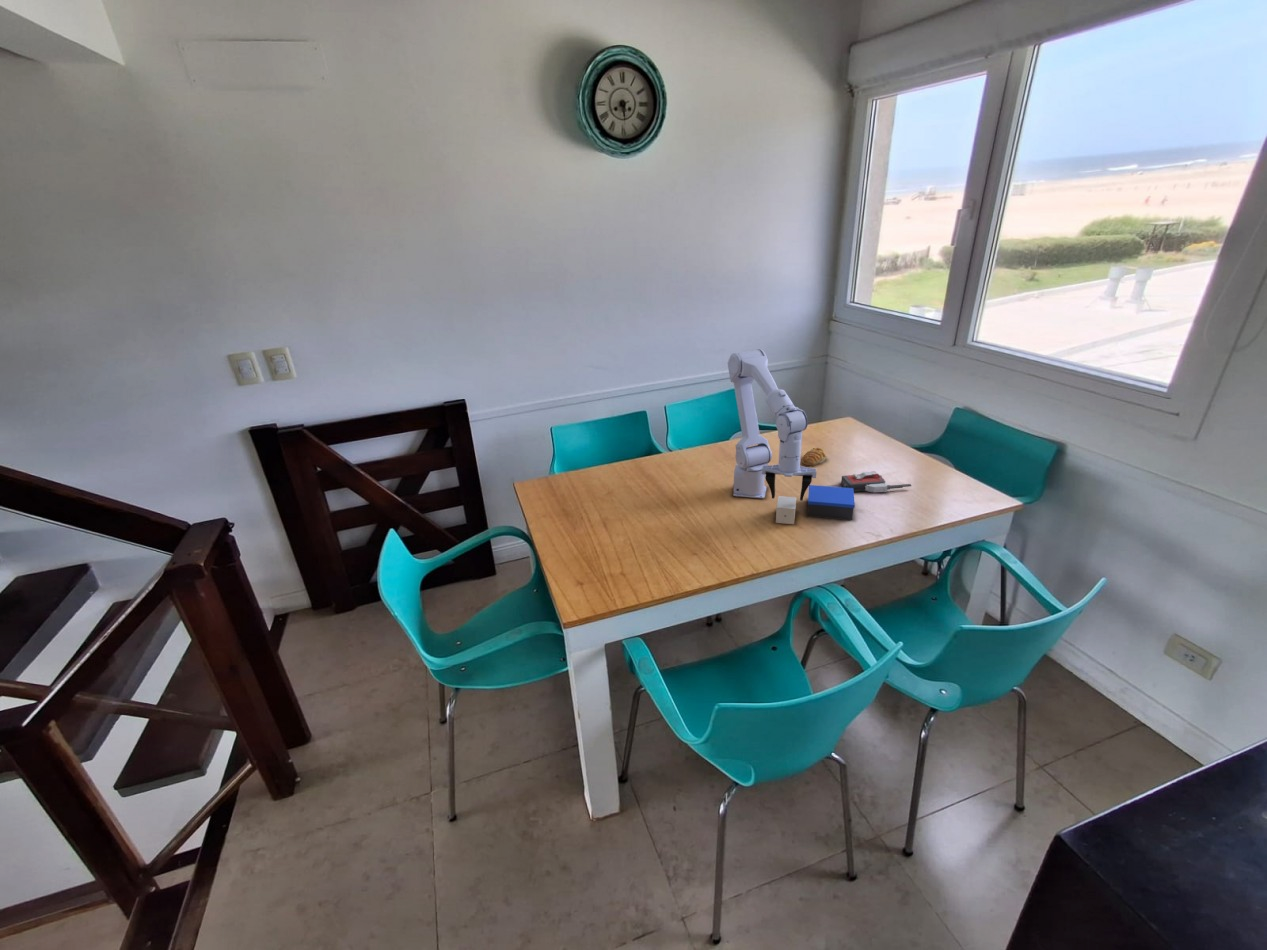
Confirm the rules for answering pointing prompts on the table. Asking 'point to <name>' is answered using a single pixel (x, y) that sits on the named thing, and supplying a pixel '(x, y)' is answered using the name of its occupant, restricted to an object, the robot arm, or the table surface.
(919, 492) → the table surface
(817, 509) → the container
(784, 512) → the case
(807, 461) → the pastry
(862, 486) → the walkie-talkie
